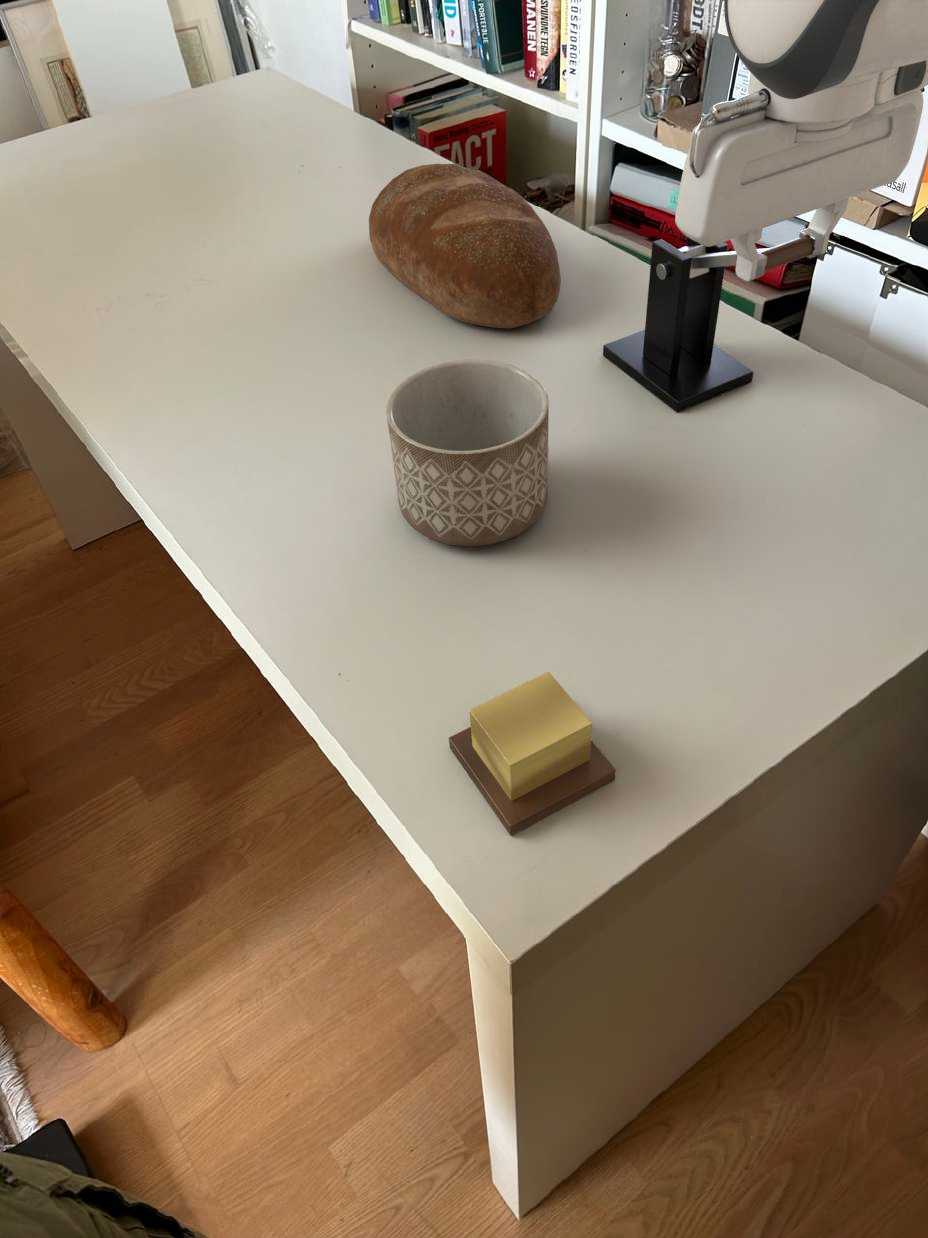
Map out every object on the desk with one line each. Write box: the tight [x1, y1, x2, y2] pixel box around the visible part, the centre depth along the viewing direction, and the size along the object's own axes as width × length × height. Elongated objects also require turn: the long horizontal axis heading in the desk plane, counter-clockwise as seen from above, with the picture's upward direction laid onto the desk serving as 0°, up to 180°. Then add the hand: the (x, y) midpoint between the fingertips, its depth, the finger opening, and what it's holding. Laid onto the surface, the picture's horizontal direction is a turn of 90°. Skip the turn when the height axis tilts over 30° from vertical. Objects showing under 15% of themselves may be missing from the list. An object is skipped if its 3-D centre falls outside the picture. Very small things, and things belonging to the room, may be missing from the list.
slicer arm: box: [677, 236, 812, 279], centre depth 82 cm, size 14×5×2 cm, turn 30°
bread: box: [368, 163, 562, 330], centre depth 106 cm, size 16×29×11 cm, turn 32°
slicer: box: [602, 236, 755, 413], centre depth 90 cm, size 12×9×13 cm
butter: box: [448, 671, 617, 837], centre depth 62 cm, size 8×8×5 cm
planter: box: [385, 358, 550, 547], centre depth 79 cm, size 13×13×10 cm
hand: (780, 264), depth 77 cm, fingers closed on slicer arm, 5 cm apart
